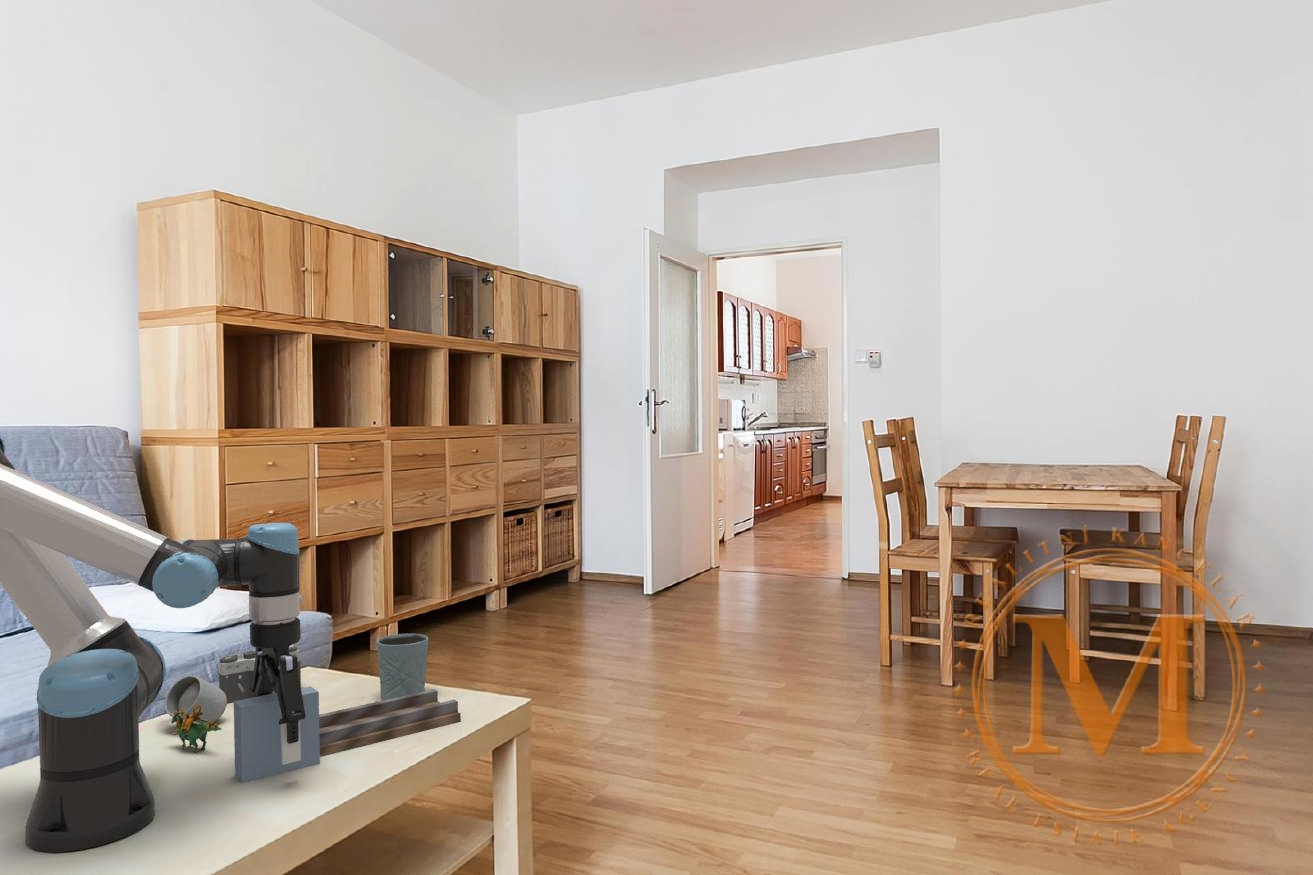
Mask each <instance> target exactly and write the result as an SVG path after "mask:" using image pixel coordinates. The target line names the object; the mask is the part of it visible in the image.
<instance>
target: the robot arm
mask: <svg viewBox="0 0 1313 875" xmlns="http://www.w3.org/2000/svg"><path fill="white" fill-rule="evenodd" d="M299 545H300V544H299V533H298V528H297V526H295V525H294V524H293V523H289V522H268V523H258V524H253V525H251V526H249V527H248V529H247V534H246V536H245V537H244V536H243V537H238V538H223V539H221V538H219V539H218V538H217V539H216V538H215V539H192V538H191V539H190V538H189V539H186V540H179V541H178V540H177V541H176V540H174V539H172V538H168V536H166V535H163V534H160V533H159V532H157V531H154V530H152V529H151V528H150V529H149V528H147V527H145V526H144V525H143V526H142V525H141V524H139V523H135V522H133V521H132V520H130V519H127V518H125V517H122V516H120V515H118V514H116V513H114V512H111V511H108V510H107V509H104V508H101V507H100V506H98V505H95V504H93V503H91V502H89V501H86V500H84V499H81V498H79V497H77V496H74V495H73V494H70V493H68V492H66V491H63V490H61V489H59V488H57V487H54V486H52V485H49V484H47V483H45V482H43V481H41V480H38V479H37V478H34V477H32V476H30V475H27V474H24V473H22V472H20V471H18V470H17V469H16V468H15V467H14V466H13V464H12V462H11V461H10V460H9V459H8V457H7V455H6V443H5V439H4V437H3V434H2V432H0V585H1V587H2V588H3V589H4V591H5V592H6V593H7V594H8V597H9V598H10V599H11V600H12V601H13V603H14V604H15V605H16V607H17V608H18V610H20V612H21V613H22V615H23V616H24V617H25V618H26V620H27V621H28V622H29V624H30V625H31V627H32V628H33V629H34V630H35V632H36V633H37V634H38V636H39V638H41V639H42V641H43V642H44V644H45V645H46V646H47V647H48V649H49V650H50V655H49V659H48V663H47V666H46V667H45V668H44V669H43V671H42V672H41V673H40V675H39V678H38V686H37V690H36V699H35V700H36V702H37V703H36V704H37V707H38V708H37V709H38V710H37V711H38V739H39V740H38V741H39V742H38V743H39V745H38V747H39V748H38V749H39V767H40V768H39V770H40V771H39V772H40V773H39V774H40V776H39V777H40V779H39V784H38V788H37V790H36V793H35V797H34V799H33V802H32V806H31V808H30V811H29V814H28V817H27V820H26V823H25V843H26V846H28V848H31V849H32V850H35V851H39V852H45V853H46V852H47V853H48V852H49V853H64V852H72V851H73V852H74V851H80V850H85V849H89V848H90V849H92V848H94V847H95V848H96V847H99V846H102V845H106V844H109V843H112V842H115V841H118V840H120V839H123V838H125V837H128V836H131V834H134V833H136V832H137V831H139V830H141V829H142V828H144V827H146V825H148V824H149V823H150V822H151V821H152V820H153V819H154V817H155V814H156V810H155V809H156V807H155V806H156V805H155V804H156V803H155V796H154V793H153V791H152V788H151V786H150V784H149V782H148V779H147V777H146V774H145V771H144V769H143V767H142V765H141V762H140V728H139V721H140V716H141V715H142V714H143V713H144V711H145V710H147V708H148V707H149V706H150V705H151V704H152V703H153V702H154V701H155V700H156V698H157V697H158V696H159V694H160V691H161V690H162V687H163V684H164V680H165V677H166V672H167V671H166V670H167V668H166V662H165V657H164V655H163V653H162V651H161V650H160V648H159V647H158V646H157V645H156V644H155V642H153V641H152V640H149V639H148V638H145V637H143V636H140V635H138V634H137V633H136V631H135V630H134V629H133V628H132V626H131V624H130V623H129V622H128V621H127V619H125V618H124V617H123V618H122V617H115V616H111V615H109V614H108V613H107V610H105V609H104V607H103V606H102V604H101V603H100V602H99V600H98V599H97V598H96V596H95V595H94V594H93V591H91V589H90V588H89V587H88V585H87V584H86V583H85V582H84V580H83V579H82V577H81V576H80V575H79V573H78V572H77V571H76V569H75V567H73V565H72V564H71V563H70V561H69V560H68V558H67V557H70V558H72V559H74V560H77V561H79V562H82V563H84V564H87V565H89V566H91V567H93V568H96V569H98V570H101V571H103V572H106V573H108V574H110V575H113V576H115V577H118V578H119V579H122V580H124V581H128V582H130V583H132V584H135V585H137V586H139V587H142V588H144V589H146V590H148V591H150V592H153V593H154V595H155V596H156V598H157V599H158V600H159V602H161V603H162V604H163V605H165V606H168V607H171V608H174V609H188V608H191V607H194V606H197V604H200V603H202V602H204V601H205V600H207V599H208V598H209V597H210V596H211V595H212V594H213V593H215V592H214V591H215V590H216V588H218V587H219V588H220V587H232V586H243V585H248V618H249V620H250V621H252V622H251V623H250V624H249V643H250V646H252V647H253V648H254V649H255V651H256V656H255V663H254V671H253V678H252V685H251V692H252V693H254V697H259V696H264V695H269V694H274V693H275V691H274V689H273V688H274V685H275V688H276V692H277V696H278V701H279V705H280V709H281V713H282V719H280V720H279V722H278V723H279V725H280V724H281V763H282V764H283V765H284V764H288V763H292V762H296V761H300V760H301V739H300V720H301V719H305V717H306V714H305V710H304V704H303V698H302V692H301V688H302V685H301V686H300V680H299V674H298V662H297V660H298V658H297V656H296V655H294V656H292V655H291V654H290V653H289V646H291V645H295V644H297V643H298V642H299V641H301V639H302V638H301V636H302V635H301V619H299V617H298V616H300V615H301V614H300V613H301V606H300V602H302V601H303V599H304V598H303V597H304V596H302V595H301V594H300V590H301V589H300V546H299ZM66 556H67V557H66ZM287 671H288V672H287ZM292 712H295V713H292Z"/></svg>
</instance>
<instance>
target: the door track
mask: <svg viewBox="0 0 1313 875" xmlns="http://www.w3.org/2000/svg"><path fill="white" fill-rule="evenodd" d="M438 692H439V691H438V690H437V689H434V688H433V689H430V690H425V691H424V692H419V693H415V694H410V695H406V696H401V697H396V698H392V699H387V700H383V701H382V700H380V701H374V702H370V703H366V704H360V705H356V706H353V707H352V706H351V707H348V708H343V709H338V710H334V711H329V712H325V713H319V737H320V758H321V757H324V756H328V755H332V754H336V753H341V752H343V751H347V750H352V749H355V748H360V747H364V746H368V745H372V744H375V743H380V742H383V741H387V740H392V739H396V738H400V737H403V736H408V735H411V734H414V733H415V734H416V733H419V732H423V731H427V730H430V729H435V728H439V727H443V726H447V725H451V724H455V723H459V722H461V717H462V716H461V712H459V703H458V702H459V701H457V699H452V700H445V701H441V702H440V701H439V700H438V697H439V696H438V695H439V694H438Z"/></svg>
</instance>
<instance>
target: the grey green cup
mask: <svg viewBox="0 0 1313 875" xmlns="http://www.w3.org/2000/svg"><path fill="white" fill-rule="evenodd" d="M375 644H376V651H377V652H376V653H377V663H378V674H379V684H380V687H379V688H380V689H379V690H380V701H383V700H387V699H392V698H396V697H401V696H406V695H410V694H415V693H419V692H424V691H426V690H425V686H426V672H427V671H426V670H427V657H428V647H429V637H428V635H425V634H421V633H397V634H391V635H386V636H383V637H380V638H378V639H376V643H375Z"/></svg>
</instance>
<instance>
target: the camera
mask: <svg viewBox="0 0 1313 875" xmlns="http://www.w3.org/2000/svg"><path fill="white" fill-rule="evenodd" d="M237 653H238V654H235V655H233V654H232V655H227V656H223V657H221V658H219V662H218V688H220V689H221V690H222V691H223V692H224V693H225V694H226V697H227V705H229V704H234V701H238V700H244V699H249V698H254V693H252V692H251V685H252V678H253V671H254V663H255V656H256V650H249V651H245V652H243V653H242V651H238V652H237ZM289 653H290V654H291V655H292V656H294V655H296V656H297V658H298V660H297V662H298V674H299V680H300V686H301V687H302V677H301V676H302V675H301V673H302V672H301V670H302V669H301V668H302V667H301V662H302V661H301V658H300V654H301V653H300V649H298V647H297V646H295V645H294V644H292V645H291V646H289ZM287 672H288V671H287ZM273 689H274V691H275V693H277V692H276V688H275V685H274V688H273Z"/></svg>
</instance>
